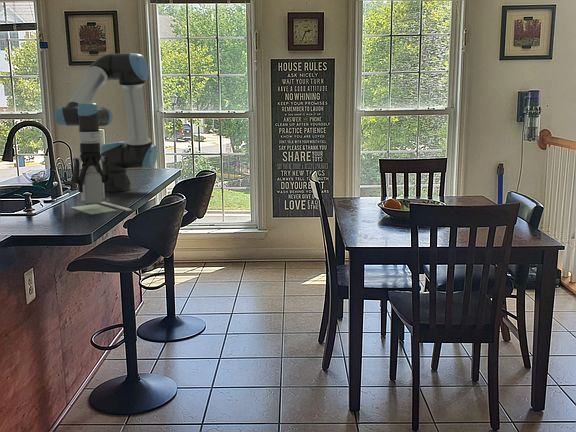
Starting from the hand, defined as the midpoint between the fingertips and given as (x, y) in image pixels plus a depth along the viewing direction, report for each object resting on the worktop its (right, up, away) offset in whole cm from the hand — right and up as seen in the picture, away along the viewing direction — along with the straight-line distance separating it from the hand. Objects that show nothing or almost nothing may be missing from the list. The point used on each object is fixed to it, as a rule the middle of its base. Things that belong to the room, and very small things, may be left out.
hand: (93, 199), depth 242 cm
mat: (0, -4, +1) cm, 4 cm away
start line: (+7, -3, +7) cm, 10 cm away
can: (0, -1, 0) cm, 1 cm away
